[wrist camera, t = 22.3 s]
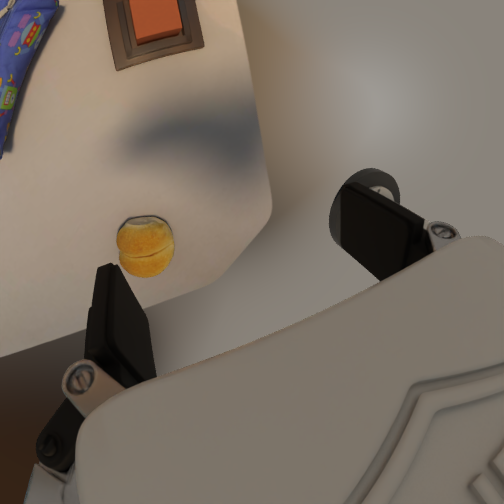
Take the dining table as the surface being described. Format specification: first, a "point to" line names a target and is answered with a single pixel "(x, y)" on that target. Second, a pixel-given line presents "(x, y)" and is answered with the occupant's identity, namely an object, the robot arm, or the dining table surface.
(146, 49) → the brown wooden tray
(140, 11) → the orange block
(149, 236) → the bread roll
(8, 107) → the pencil case
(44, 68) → the dining table surface
